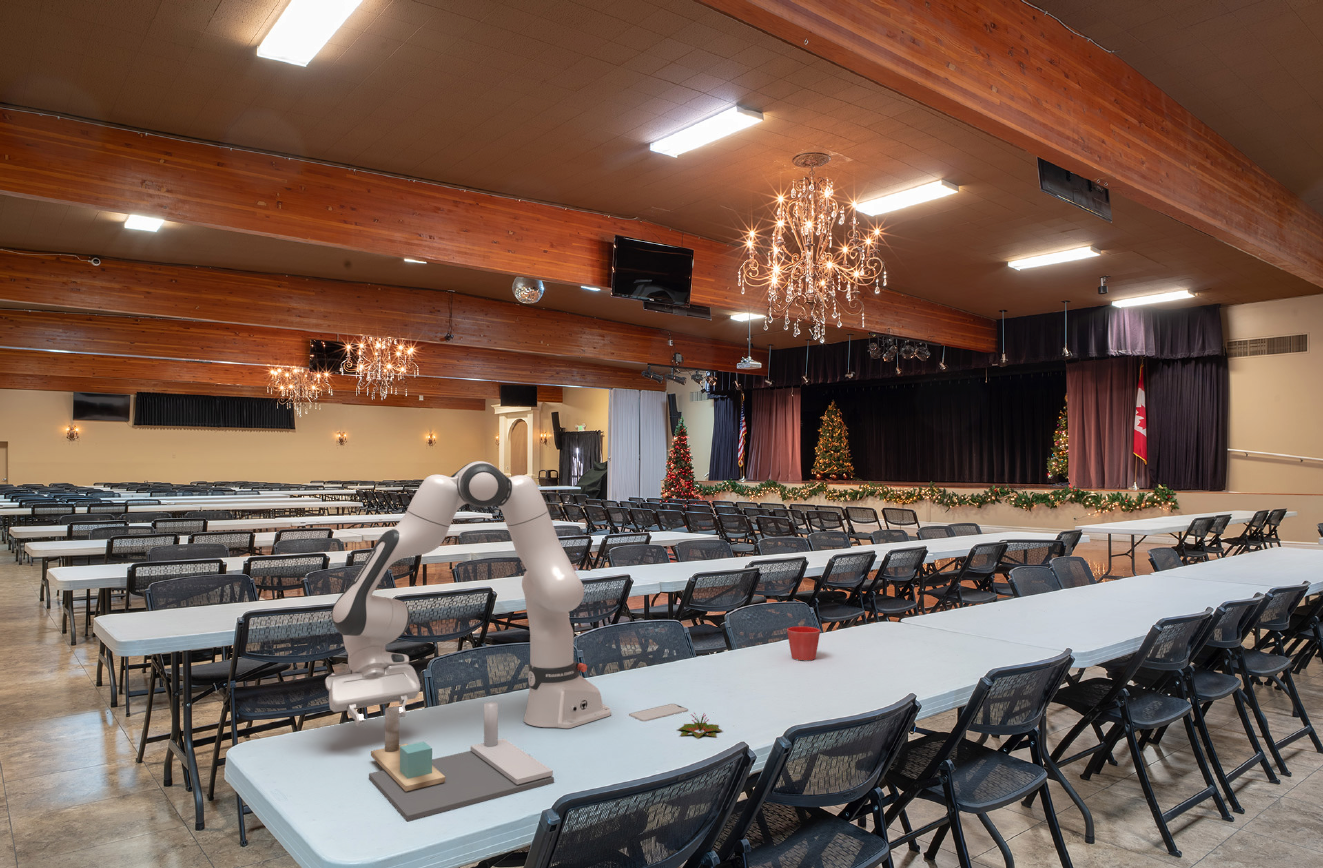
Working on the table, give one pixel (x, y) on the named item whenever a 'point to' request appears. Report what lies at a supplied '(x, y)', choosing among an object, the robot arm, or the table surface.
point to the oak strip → (391, 756)
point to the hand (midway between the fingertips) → (381, 719)
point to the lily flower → (699, 728)
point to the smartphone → (658, 712)
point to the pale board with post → (507, 752)
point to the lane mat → (451, 786)
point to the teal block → (415, 760)
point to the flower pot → (803, 642)
